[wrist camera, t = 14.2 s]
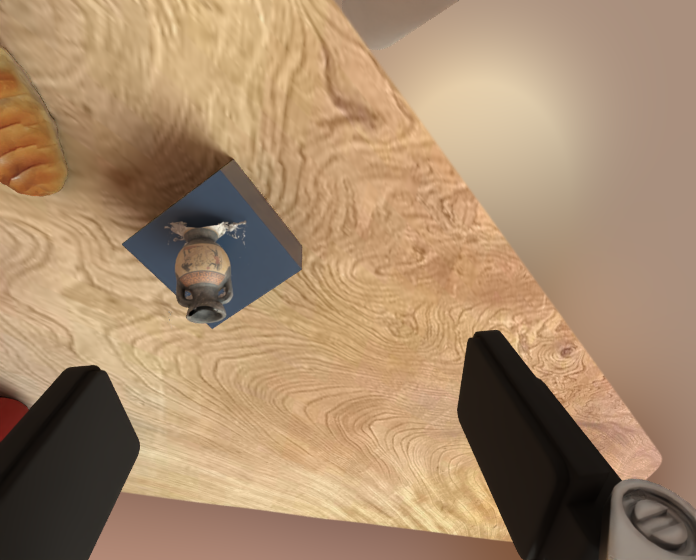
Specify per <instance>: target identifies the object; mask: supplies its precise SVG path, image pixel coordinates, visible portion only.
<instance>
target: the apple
mask: <svg viewBox="0 0 696 560" xmlns="http://www.w3.org/2000/svg"><path fill="white" fill-rule="evenodd" d="M28 411H29V409H28V408H27V406H26V405H24V404H22V403H21V402H19V401H18V400H14V399H10V398H4V397H0V442H1V441H2V440H3V439H4V438H5V436H6V435H7V434H8V433H9V432H10V431H11V430H12V429H13V427H14V426H15V425H16V424H17V423H18V422H19V421H20V420H21V418H22V417H23V416H24V415H25V414H26V413H27V412H28Z"/></svg>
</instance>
